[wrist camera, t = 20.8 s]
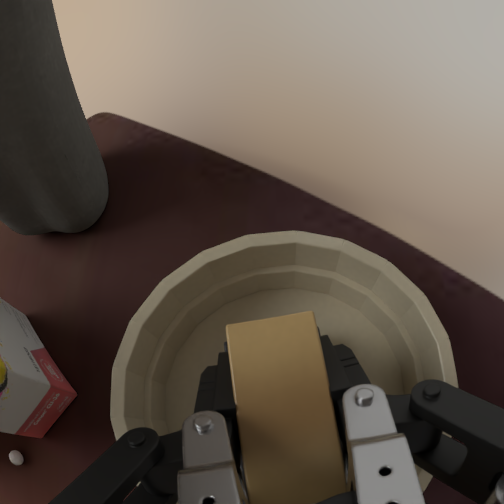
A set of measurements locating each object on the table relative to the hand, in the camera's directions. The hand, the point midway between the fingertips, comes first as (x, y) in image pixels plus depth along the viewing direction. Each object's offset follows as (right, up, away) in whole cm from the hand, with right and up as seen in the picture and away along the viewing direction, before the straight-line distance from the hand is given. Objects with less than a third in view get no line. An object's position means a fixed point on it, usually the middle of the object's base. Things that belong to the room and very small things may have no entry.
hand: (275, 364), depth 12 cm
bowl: (+1, -3, +3) cm, 5 cm away
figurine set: (-20, -11, 0) cm, 22 cm away
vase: (-17, +9, +13) cm, 23 cm away
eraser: (+1, -4, +2) cm, 4 cm away
